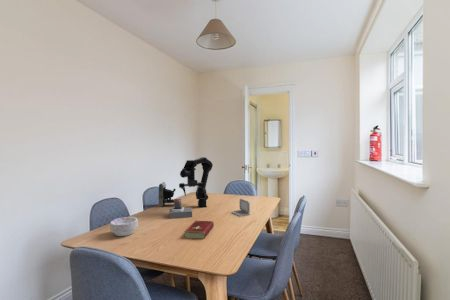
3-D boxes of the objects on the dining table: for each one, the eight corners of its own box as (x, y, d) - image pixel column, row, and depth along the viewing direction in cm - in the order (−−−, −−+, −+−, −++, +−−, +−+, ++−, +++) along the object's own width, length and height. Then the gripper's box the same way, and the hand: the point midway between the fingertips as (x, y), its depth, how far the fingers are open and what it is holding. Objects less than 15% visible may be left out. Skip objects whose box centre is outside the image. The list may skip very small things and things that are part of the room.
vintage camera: (176, 207, 212) (176, 183, 212) (158, 206, 212) (158, 183, 212) (178, 204, 221) (179, 182, 221) (161, 204, 222) (161, 182, 222)
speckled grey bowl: (123, 239, 138) (122, 225, 138) (104, 235, 145) (104, 222, 145) (143, 231, 151) (143, 218, 151) (125, 227, 158) (125, 215, 158)
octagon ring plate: (190, 212, 192) (190, 205, 192) (192, 216, 180) (192, 209, 180) (169, 214, 189) (169, 206, 189) (169, 218, 177) (169, 210, 177)
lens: (181, 209, 187) (180, 198, 187) (181, 210, 182) (181, 199, 182) (174, 209, 186) (173, 199, 186) (174, 211, 181) (174, 200, 181)
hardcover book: (213, 227, 158) (213, 220, 158) (204, 239, 137) (204, 232, 137) (195, 226, 160) (195, 219, 160) (184, 238, 140) (184, 231, 140)
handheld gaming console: (230, 212, 191) (230, 199, 190) (241, 210, 195) (240, 198, 195) (239, 216, 179) (239, 202, 179) (250, 214, 183) (250, 201, 183)
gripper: (179, 177, 187) (179, 198, 187) (204, 176, 191) (204, 197, 191) (178, 176, 198) (179, 195, 198) (202, 175, 202) (202, 194, 202)
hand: (191, 195), depth 197 cm, fingers open, 9 cm apart
